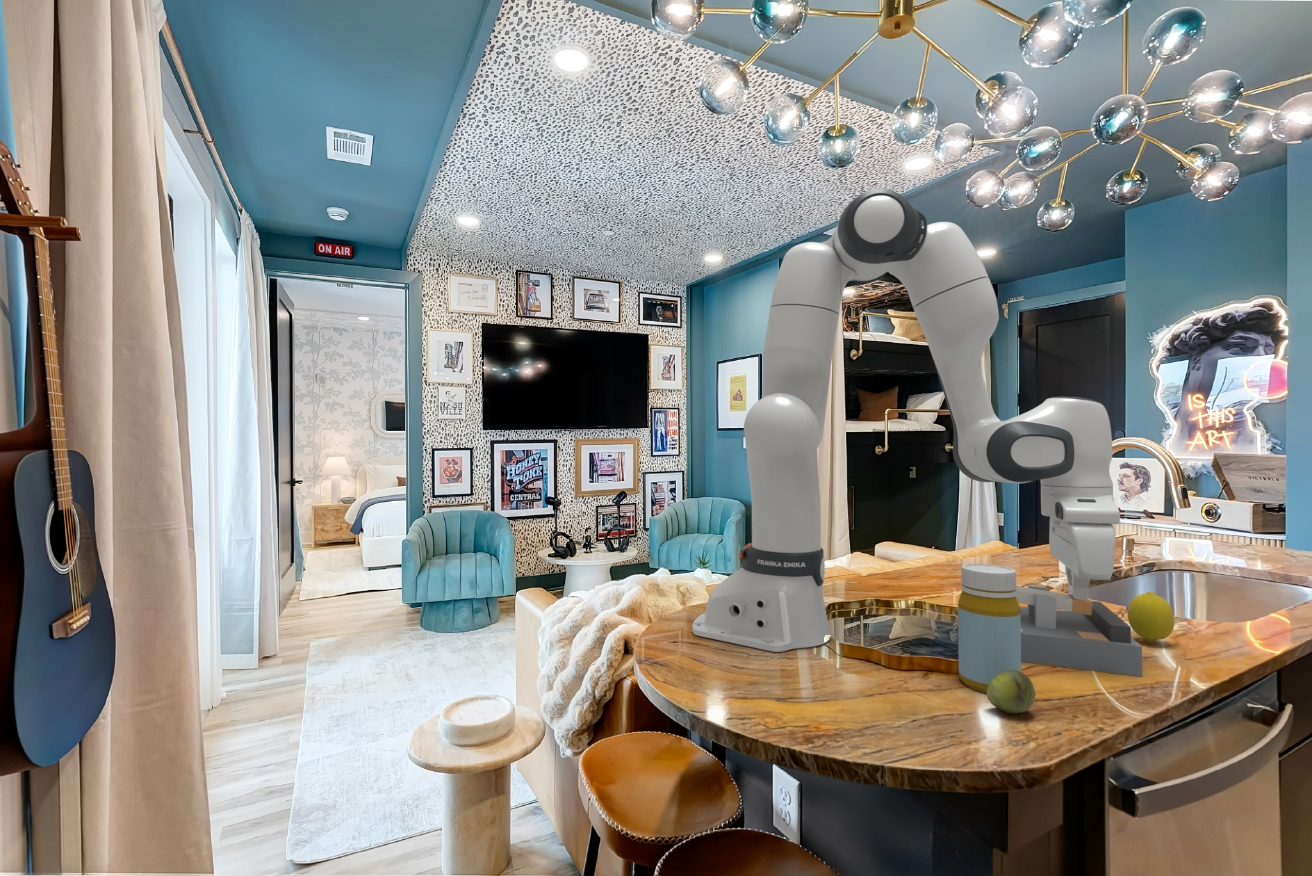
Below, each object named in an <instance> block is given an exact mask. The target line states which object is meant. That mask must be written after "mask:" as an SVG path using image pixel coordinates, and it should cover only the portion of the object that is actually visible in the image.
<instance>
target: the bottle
mask: <svg viewBox="0 0 1312 876" xmlns="http://www.w3.org/2000/svg"><path fill="white" fill-rule="evenodd" d="M960 570H961V573H960V574H961V576H960V577H961V578H960V579H961V590H962V591H961V593H960V596H959V598H958V605H957V621H958V623H957V629H958V631H957V634H958V635H957V637H958V644H957V645H958V677H959V678H960V680H961V681H962V682H963V684H965V685H966V686H967V687H968V688H970V689H972V690H975V691H979V692H982V693H985V694H987V693H986V690H987V687H988V685H989V683H990V681H991V680H992V679H993V678H994V677H995V676H997V675H998V674H1000V673H1001V672H1003V671H1008V670H1017V671H1020V672H1022V662H1021V613H1020V607H1021V606H1020V605H1019V604H1020V603H1018V601H1017V599H1016V586H1017V572H1016V569H1014V568H1011V567H1008V566H1003V565H997V564H988V563H966V564H963V565H962V566H961V569H960Z"/></svg>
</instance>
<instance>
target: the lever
mask: <svg viewBox="0 0 1312 876" xmlns="http://www.w3.org/2000/svg"><path fill="white" fill-rule="evenodd" d="M1035 594H1042V595H1054V596H1055V597H1056V610H1061V611H1070V612H1073V613H1079V614H1085V615H1091V614H1092V604H1093V603H1092V602H1091V601H1092V600H1090V599H1089V597H1088V598H1087V599H1086V600H1077V599H1075V598H1073V597H1072V596H1071V595H1070V594H1069V593H1065V592H1064V593H1063V592H1056V591H1049V590H1047V591H1044V590H1038V589H1032V588H1028V587H1024V586H1017V585H1016V599H1017V601H1018V604H1021V605H1022V604H1023V605H1027V606H1028V605H1034V606H1035Z"/></svg>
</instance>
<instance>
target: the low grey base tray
mask: <svg viewBox="0 0 1312 876" xmlns="http://www.w3.org/2000/svg"><path fill="white" fill-rule="evenodd" d="M1026 588H1032V589H1038V590H1044V591H1048V588H1047V587H1046V586H1043V585H1030V584H1029V585H1028V584H1027V587H1026ZM1090 601H1091V602H1092V603H1093V604H1092V614H1091V615H1085V614H1079V613H1073V612H1070V611H1064V610H1058V609H1056V597H1055V596H1054V595H1042V594H1035V606H1034V605H1028V604H1027V606H1026V607H1025V606H1020V613H1021V663H1028V662H1029V664H1038V665H1044V664H1046V665H1047V666H1052V665H1055V667H1060V668H1061V667H1062V668H1068V667H1069V668H1070V669H1075V670H1076V669H1077V670H1085V671H1094V672H1101V673H1109V674H1116V675H1118V674H1119V675H1123V676H1124V675H1126V676H1133V677H1143V646H1142V645H1141V644H1140V643H1139V642H1137V641H1136V640H1135V639H1134V638H1133V637H1132V628H1131V626H1130V624H1129V623H1126V622H1125V621H1124V620H1123V619H1122V618H1120V616H1118V615H1117V614H1116V613H1115V612H1113V611H1112V610H1111V609H1110V608H1108V606H1106V605H1105V604H1104V603H1102V602H1101V601H1094V600H1090ZM1069 668H1068V669H1069Z"/></svg>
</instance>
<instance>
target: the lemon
mask: <svg viewBox="0 0 1312 876" xmlns="http://www.w3.org/2000/svg"><path fill="white" fill-rule="evenodd" d="M1127 621H1128V625H1129V626H1130V627H1131V630H1133V631H1134V633H1135V634H1136V635H1138V636H1139V637H1141V638H1143V639H1144V640H1146V642H1147V643H1149V644H1154V643H1155V642H1157V641H1160V640H1161V641H1162V640H1164V639H1167V638H1168V637H1169V636H1170V635H1171V634H1172V632H1173V630H1174V628H1175V616H1174V611H1173V610H1172V607H1171V606H1170V604H1169V602H1167V601H1166V600H1165V599H1164V598H1163V597H1162V596H1159V595H1157V594H1155V593H1154V592H1152V591H1147V592H1145V593H1141V594H1138V595H1136V596H1135V597H1133V598H1132V599H1131V601H1130V602H1129V605H1128V610H1127Z"/></svg>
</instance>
